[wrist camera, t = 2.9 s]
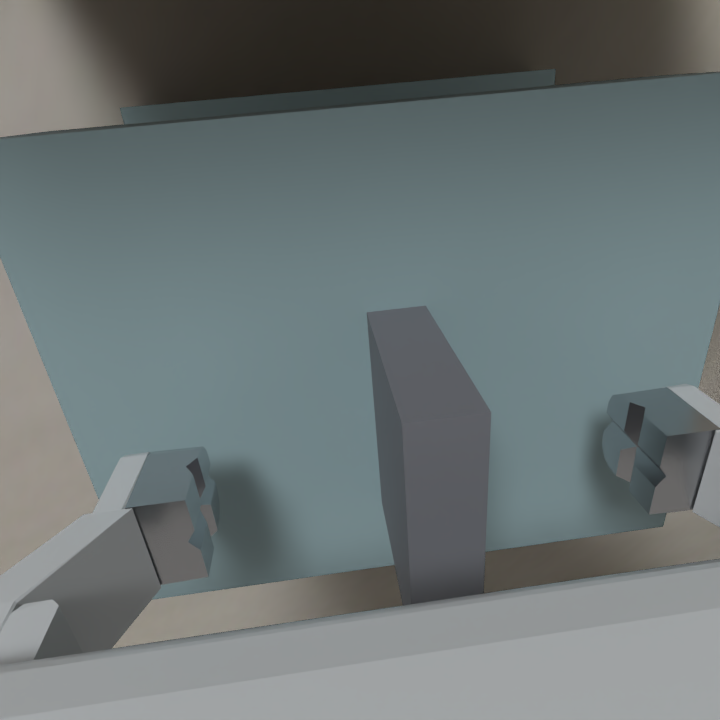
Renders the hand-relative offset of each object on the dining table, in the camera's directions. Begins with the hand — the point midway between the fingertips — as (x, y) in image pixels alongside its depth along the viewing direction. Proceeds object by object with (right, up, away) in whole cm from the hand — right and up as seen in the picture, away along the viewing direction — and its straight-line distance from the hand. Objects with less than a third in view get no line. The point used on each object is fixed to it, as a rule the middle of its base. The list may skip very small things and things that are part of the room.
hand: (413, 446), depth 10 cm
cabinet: (-1, +6, +10) cm, 12 cm away
